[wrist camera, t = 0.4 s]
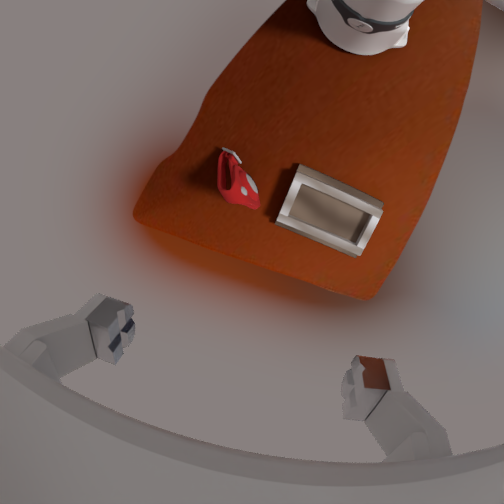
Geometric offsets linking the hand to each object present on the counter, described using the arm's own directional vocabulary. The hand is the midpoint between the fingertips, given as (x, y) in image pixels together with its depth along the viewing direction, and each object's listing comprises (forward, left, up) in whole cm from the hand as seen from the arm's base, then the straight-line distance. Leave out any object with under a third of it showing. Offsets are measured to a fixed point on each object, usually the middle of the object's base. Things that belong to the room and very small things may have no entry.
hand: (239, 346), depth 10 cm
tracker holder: (+4, -7, -45) cm, 46 cm away
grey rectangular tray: (+4, +10, -45) cm, 46 cm away
